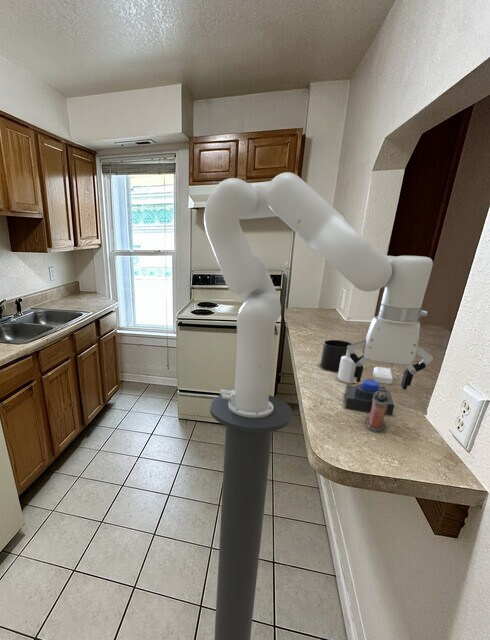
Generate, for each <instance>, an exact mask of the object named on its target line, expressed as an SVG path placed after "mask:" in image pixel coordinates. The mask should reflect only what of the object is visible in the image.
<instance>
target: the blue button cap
mask: <svg viewBox="0 0 490 640" xmlns="http://www.w3.org/2000/svg"><path fill="white" fill-rule="evenodd" d="M361 384H362V389H364V390H367V391H372V392H376V391H378V390H379V386H380V385H381V384H380V383H379V382H376V381H374V380H373V379H364V380H363V381H362V383H361Z"/></svg>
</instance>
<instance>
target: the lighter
mask: <svg viewBox="0 0 490 640" xmlns="http://www.w3.org/2000/svg"><path fill="white" fill-rule="evenodd" d="M387 390H388V389H387V388H386V385H385V383H381V384H380V385H379V390H378V391H376V392H375V393H374V394H373V399H372V400H373V403H372V408H371V412H369V416H368V418H367V421H366V424H367V428H368V430H369V431H371V432H373V433H381V432H382V430H383V427H384V419H385V416H386V415H385V414H386V411H387V405H388V402H389V397H388V395H387V394H386V391H387Z"/></svg>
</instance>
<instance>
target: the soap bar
mask: <svg viewBox="0 0 490 640" xmlns="http://www.w3.org/2000/svg"><path fill="white" fill-rule="evenodd" d="M372 376H373V381H376V382H378V383H379V384H380V383H381V384H388V385H392V384H393V379H394V378H393V373H392V369H391V368H390V367H385V366H384V367H383V366H375V367H374V368H373V371H372Z"/></svg>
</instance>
